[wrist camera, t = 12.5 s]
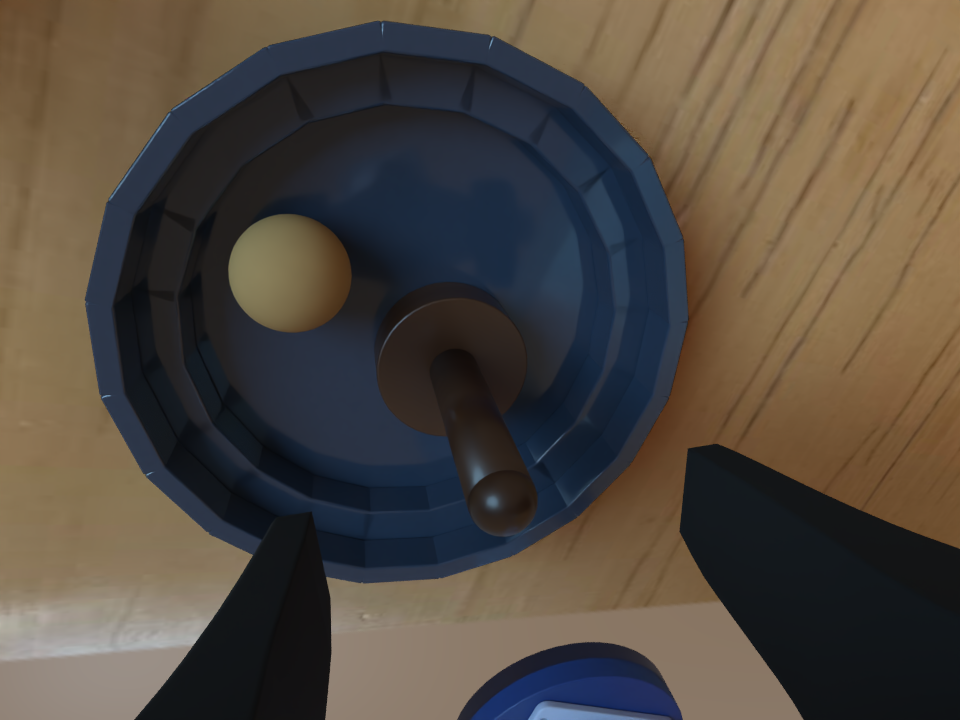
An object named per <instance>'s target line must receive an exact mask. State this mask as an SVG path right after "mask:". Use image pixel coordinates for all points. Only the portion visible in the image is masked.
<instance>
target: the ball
mask: <svg viewBox="0 0 960 720" xmlns="http://www.w3.org/2000/svg"><path fill="white" fill-rule="evenodd" d="M228 270H229V282H230V286H231V290H232V292H233V295H234V297H235V299H236V300H237V302H238V304H239V305H240V307H241V308H242V309H243V310H244V311H245V312H246V313H247V314H248V315H249V316H250V317H251V318H252V319H253V320H255V321H256V322H258V323H259V324H261V325H263V326H265V327H268V328H270V329H273V330H276V331H281V332H289V333H297V332H304V331H309V330H312V329H315V328H317V327H319V326H321V325H323V324H325V323H326V322H328V321H329V320H331V319H332V318H333V317H334V316H335V315H336V314H337V313H338V312H339V310H340V309H341V308H342V306H343V305H344V303H345V301H346V299H347V297H348V294H349V291H350V286H351V278H352V274H351V265H350V260H349V257H348V254H347V252H346V250H345V248H344V246H343V244H342V243H341V241H340V240H339V239H338V237H337V236H336V235H335V234H334V233H333V232H332V231H331V230H330V229H328V228H327V227H326V226H324V225H323V224H321V223H320V222H318V221H316V220H314V219H311V218H309V217H305V216H301V215H297V214H278V215H274V216H270V217H267V218H264V219H261V220H260V221H258V222H256V223H255V224H253V225H251V226H250V227H249V228H248V229H247V230H246V231H245V232H243V234H242V235H241V236H240V237H239V239H238V240H237V242H236V244H235V245H234V247H233V250H232V252H231V256H230V260H229V268H228Z"/></svg>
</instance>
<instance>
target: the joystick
mask: <svg viewBox="0 0 960 720" xmlns="http://www.w3.org/2000/svg"><path fill="white" fill-rule="evenodd" d="M374 356H375V366H376V376H377V383H378V388H379V391H380V394H381V396H382V398H383V401H384V402H385V404H386V406H387V407H388V409H389V410H390V411H391V412H392V413H393V414H394V416H395V417H397V418H398V419H399V420H400V421H401V422H403V423H404V424H406V425H407V426H409V427H410V428H413V429H415V430H417V431H419V432H422V433H425V434H429V435H434V436H444V437H448V441H449V444H450V448H451V451H452V455H453V458H454V462H455V465H456V469H457V473H458V476H459V480H460V483H461V487H462V490H463V494H464V497H465V501H466V504H467V508H468V511H469V514H470V516H471V518H472V520H473V521H474V523H475V524H476V525H477V526H478V527H479V528H480V529H481V530H483V531H484V532H486V533H488V534H490V535H493V536H498V537H507V536H512V535H515V534H517V533H519V532H521V531H522V530H524V529H525V528H526V527H527V526H528V525H529V524H530V523H531V521H532V520H533V518H534V516H535V513H536V510H537V503H538V496H537V492H536V488H535V485H534V483H533V481H532V479H531V477H530V475H529V472H528V470H527V468H526V466H525V464H524V462H523V460H522V458H521V455H520V453H519V451H518V449H517V447H516V445H515V443H514V441H513V438H512V436H511V434H510V432H509V430H508V428H507V426H506V423H505V421H504V419H503V417H502V415H503V414H504V413H505V412H506V411H507V410H508V409H509V408H510V407H511V406H512V404H513V403H514V402H515V400H516V399H517V397H518V395H519V393H520V392H521V389H522V387H523V384H524V381H525V377H526V373H527V352H526V346H525V343H524V340H523V337H522V335H521V333H520V331H519V330H518V328H517V327H516V325H515V324H514V322H513V321H512V320H511V318H510V317H509V315H508V314H507V312H506V311H505V310H504V308H503V307H502V306H501V305H500V303H499V302H498V301H497V300H496V299H494V298H493V297H492V296H491V295H490V294H488V293H486V292H485V291H483V290H481V289H479V288H477V287H474V286H471V285H468V284H464V283H457V282H441V283H434V284H430V285H426V286H423V287H421V288H418V289H416V290H414V291H412V292H410V293H408V294H407V295H406V296H404V297H403V298H401V299H400V300H399V301H398V302H397V303H396V304H395V305H394V306H393V307H392V308H391V309H390V310H389V311H388V313H387V314H386V316H385V317H384V319H383V320H382V322H381V325H380V327H379V329H378V332H377V336H376V340H375V347H374Z"/></svg>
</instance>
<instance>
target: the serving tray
mask: <svg viewBox="0 0 960 720" xmlns="http://www.w3.org/2000/svg"><path fill="white" fill-rule="evenodd" d="M278 214H297V215H301V216H305V217H309V218H311V219H314V220H316V221H318V222H320V223H321V224H323V225H324V226H326V227H327V228H328V229H330V230H331V231H332V232H333V233H334V234H335V235H336V236H337V237H338V239H339V240H340V241H341V243H342V244H343V246H344V248H345V250H346V252H347V254H348V257H349V260H350V265H351V274H352V278H351V286H350V291H349V294H348V297H347V299H346V301H345V303H344V305H343V306H342V308H341V309H340V310H339V312H338V313H337V314H336V315H335V316H334V317H333V318H332V319H331V320H329V321H328V322H326V323H325V324H323V325H321V326H319V327H317V328H315V329H312V330H309V331H304V332H297V333H289V332H281V331H276V330H273V329H270V328H268V327H265V326H263V325H261V324H259V323H258V322H256V321H255V320H253V319H252V318H251V317H250V316H249V315H248V314H247V313H246V312H245V311H244V310H243V309H242V308H241V307H240V305H239V304H238V302H237V300H236V299H235V297H234V295H233V292H232V290H231V286H230V282H229V270H228V268H229V260H230V256H231V252H232V250H233V247H234V245H235V244H236V242H237V240H238V239H239V237H240V236H241V235H242V234H243V232H245V231H246V230H247V229H248V228H249V227H250V226H251V225H253V224H255V223H256V222H258V221H260V220H261V219H264V218H267V217H270V216H274V215H278ZM441 282H457V283H464V284H468V285H471V286H474V287H477V288H479V289H481V290H483V291H485V292H486V293H488V294H490V295H491V296H492V297H493V298H494V299H496V300H497V301H498V302H499V303H500V305H501V306H502V307H503V308H504V310H505V311H506V312H507V314H508V315H509V317H510V318H511V320H512V321H513V322H514V324H515V325H516V327H517V328H518V330H519V331H520V333H521V335H522V337H523V340H524V343H525V346H526V352H527V373H526V377H525V381H524V384H523V387H522V389H521V392H520V393H519V395H518V397H517V399H516V400H515V402H514V403H513V404H512V406H511V407H510V408H509V409H508V410H507V411H506V412H505V413H504V414H503V415H502V417H503V419H504V421H505V423H506V426H507V428H508V430H509V432H510V434H511V436H512V438H513V441H514V443H515V445H516V447H517V449H518V451H519V453H520V455H521V458H522V460H523V462H524V464H525V466H526V468H527V470H528V472H529V475H530V477H531V479H532V481H533V483H534V485H535V488H536V492H537V496H538V503H537V510H536V513H535V516H534V518H533V520H532V521H531V523H530V524H529V525H528V526H527V527H526V528H525V529H524V530H522V531H521V532H519V533H517V534H515V535H512V536H507V537H498V536H493V535H490V534H488V533H486V532H484V531H483V530H481V529H480V528H479V527H478V526H477V525H476V524H475V523H474V521H473V520H472V518H471V516H470V514H469V511H468V508H467V504H466V501H465V497H464V494H463V490H462V487H461V483H460V480H459V476H458V473H457V469H456V465H455V462H454V458H453V455H452V451H451V448H450V444H449V441H448V437H444V436H434V435H429V434H425V433H422V432H419V431H417V430H415V429H413V428H410V427H409V426H407V425H406V424H404V423H403V422H401V421H400V420H399V419H398V418H397V417H395V416H394V414H393V413H392V412H391V411H390V410H389V409H388V407H387V406H386V404H385V402H384V401H383V398H382V396H381V394H380V391H379V388H378V383H377V376H376V366H375V356H374V347H375V340H376V336H377V332H378V329H379V327H380V325H381V322H382V320H383V319H384V317H385V316H386V314H387V313H388V311H389V310H390V309H391V308H392V307H393V306H394V305H395V304H396V303H397V302H398V301H399V300H400V299H401V298H403V297H404V296H406V295H407V294H408V293H410V292H412V291H414V290H416V289H418V288H421V287H423V286H426V285H430V284H434V283H441ZM85 301H86V303H85V305H86V312H87V318H88V324H89V331H90V337H91V343H92V350H93V356H94V362H95V369H96V375H97V381H98V387H99V394H100V395H101V399H102V401H103V403H104V405H105V406H106V408H107V410H108V412H109V413H110V415H111V417H112V419H113V421H114V422H115V424H116V426H117V428H118V429H119V431H120V433H121V435H122V437H123V438H124V440H125V442H126V444H127V445H128V447H129V449H130V451H131V453H132V454H133V456H134V458H135V460H136V461H137V463H138V465H139V467H140V469H141V470H142V472H143V474H145V476H146V477H147V478H148V479H149V480H150V481H151V482H152V483H153V484H154V485H156V486H157V487H158V488H159V489H160V490H161V491H162V492H163V493H164V494H166V495H167V496H168V497H169V498H170V499H171V500H172V501H173V502H174V503H175V504H177V505H178V506H179V507H180V508H181V509H182V510H183V511H184V512H185V513H187V514H188V515H189V516H190V517H191V518H192V519H193V520H194V521H195V522H196V523H198V524H199V525H200V526H201V527H202V528H203V529H204V530H205V531H206V532H209V534H210V535H212V536H214V537H217V538H219V539H221V540H223V541H225V542H227V543H229V544H231V545H233V546H235V547H237V548H240V549H242V550H244V551H246V552H248V553H250V554H252V555H254V553H255V551H256V550H257V548H258V546H259V544H260V543H261V541H262V539H263V537H264V536H265V534H266V532H267V530H268V529H269V527H270V525H271V523H272V522H273V521H274V520H275V519H276V517H281V516H287V515H293V514H299V513H305V512H311V511H312V515H313V519H314V524H315V529H316V533H317V538H318V543H319V547H320V552H321V557H322V561H323V566H324V571H325V575H326V577H330V578H335V579H340V580H346V581H351V582H357V583H362V582H363V583H378V582H394V581H410V580H425V579H438V578H439V577H440V578H444V577H447V576H450V575H453V574H457V573H460V572H463V571H466V570H469V569H473V568H476V567H479V566H482V565H486V564H489V563H492V562H495V561H498V560H502V559H505V558H508V557H511V556H512V555H515V554H517V553H519V552H520V551H522V550H524V549H525V548H527V547H529V546H530V545H532V544H534V543H536V542H537V541H539V540H541V539H542V538H544V537H546V536H547V535H549V534H551V533H552V532H554V531H556V530H557V529H559V528H561V527H562V526H564V525H566V524H567V523H569V522H571V521H572V520H574V519H576V518H577V516H579V515H580V514H581V513H582V512H583V511H584V510H585V509H586V508H587V507H588V506H589V505H590V504H591V503H592V502H593V501H594V500H595V499H596V498H597V497H598V496H599V495H600V494H602V493H603V492H604V491H605V490H606V489H607V488H608V487H609V486H610V485H611V484H612V483H613V482H614V481H615V480H616V479H617V478H618V477H619V476H620V475H621V474H622V473H623V472H624V471H625V470H626V469H627V468H628V467H629V466H630V463H632V462H633V460H634V458H635V456H636V455H637V453H638V451H639V450H640V448H641V446H642V444H643V443H644V441H645V439H646V437H647V436H648V434H649V432H650V431H651V429H652V427H653V425H654V424H655V422H656V420H657V418H658V417H659V415H660V413H661V412H662V410H663V408H664V406H665V405H666V403H667V401H668V399H669V396H670V393H671V389H672V385H673V381H674V377H675V373H676V369H677V365H678V361H679V357H680V353H681V349H682V345H683V341H684V337H685V333H686V329H687V325H688V320H689V316H688V300H687V284H686V268H685V251H684V240H683V236H682V233H681V231H680V228H679V226H678V224H677V221H676V219H675V216H674V214H673V211H672V209H671V207H670V204H669V202H668V199H667V197H666V194H665V192H664V189H663V187H662V185H661V182H660V180H659V177H658V175H657V172H656V170H655V168H654V165H653V163H652V160H651V158H650V157H649V156H648V154H647V153H646V152H645V150H644V149H643V148H642V147H641V146H640V145H639V144H638V143H637V142H636V140H635V139H634V138H633V137H632V136H631V135H630V134H629V133H628V132H627V130H626V129H625V128H624V127H623V126H622V125H621V124H620V123H619V122H618V120H617V119H616V118H615V117H614V116H613V115H612V114H611V113H610V112H609V110H608V109H607V108H606V107H605V106H604V105H603V104H602V103H601V102H600V100H599V99H598V98H597V97H596V96H595V95H594V94H593V93H592V92H591V90H590V89H589V88H588V87H586V86H585V85H584V84H583V83H582V82H580V81H578V80H576V79H574V78H572V77H570V76H568V75H567V74H565V73H563V72H561V71H559V70H557V69H555V68H553V67H551V66H550V65H548V64H546V63H544V62H542V61H540V60H538V59H536V58H534V57H533V56H531V55H529V54H527V53H525V52H523V51H521V50H519V49H517V48H516V47H514V46H512V45H510V44H508V43H506V42H504V41H502V40H501V39H499V38H497V37H495V36H492V37H491V36H490V35H487V34H479V33H472V32H465V31H457V30H450V29H442V28H435V27H428V26H420V25H413V24H405V23H398V22H391V21H381V22H380V21H374V22H370V23H365V24H361V25H356V26H352V27H347V28H343V29H339V30H334V31H330V32H325V33H321V34H316V35H312V36H308V37H303V38H299V39H294V40H290V41H285V42H281V43H277V44H272V45H269V46H268V47H264V48H262V49H261V50H259V51H258V52H256V53H255V54H253V55H252V56H250V57H249V58H247V59H246V60H244V61H243V62H241V63H240V64H238V65H237V66H235V67H234V68H232V69H231V70H229V71H228V72H226V73H225V74H223V75H222V76H220V77H219V78H217V79H216V80H214V81H213V82H211V83H210V84H208V85H207V86H205V87H204V88H202V89H201V90H199V91H198V92H196V93H195V94H193V95H192V96H190V97H189V98H187V99H186V100H184V101H183V102H181V103H180V104H178V105H177V106H175V107H174V108H172V109H171V111H170V112H168V114H167V115H166V116H165V118H164V119H163V121H162V122H161V124H160V125H159V127H158V128H157V129H156V131H155V132H154V134H153V135H152V137H151V138H150V140H149V141H148V142H147V144H146V145H145V147H144V148H143V150H142V151H141V153H140V154H139V155H138V157H137V158H136V160H135V161H134V163H133V164H132V165H131V167H130V168H129V170H128V171H127V173H126V174H125V176H124V177H123V178H122V180H121V181H120V183H119V184H118V186H117V187H116V189H115V190H114V191H113V193H112V194H111V196H110V197H109V200H108V202H107V203H106V207H105V212H104V216H103V221H102V225H101V230H100V234H99V239H98V243H97V247H96V252H95V256H94V261H93V265H92V270H91V274H90V279H89V283H88V287H87V292H86V296H85Z"/></svg>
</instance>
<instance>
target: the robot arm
mask: <svg viewBox="0 0 960 720" xmlns="http://www.w3.org/2000/svg"><path fill="white" fill-rule="evenodd" d="M680 533H681V535H682V537H683V539H684V541H685V543H686V545H687V547H688V549H689V551H690V553H691V555H692V556H693V558H694V560H695V562H696V564H697V565H698V567H699V569H700V571H701V572H702V574H703V576H704V578H705V579H706V581H707V582H708V583H709V585H710V586H711V588H712V589H713V591H714V592H715V593H716V595H717V596H718V598H719V599H720V600H721V602H722V603H723V605H724V606H725V607H726V609H727V610H728V611H729V613H730V614H731V616H732V617H733V618H734V620H735V621H736V623H737V624H738V625H739V627H740V628H741V629H742V631H743V632H744V634H745V635H746V636H747V637H748V639H749V640H750V642H751V643H752V644H753V646H754V647H755V649H756V650H757V651H758V653H759V654H760V655H761V657H762V658H763V660H764V661H765V662H766V663H767V665H768V666H769V668H770V669H771V671H772V672H773V673H774V675H775V676H776V677H777V679H778V680H779V682H780V683H781V685H782V686H783V688H784V689H785V691H786V692H787V694H788V695H789V697H790V698H791V700H792V701H793V703H794V704H795V706H796V708H797V709H798V711H799V712H800V714H801V716H802V718H803V719H804V720H960V549H959V548H956V547H953V546H950V545H947V544H945V543H942V542H939V541H936V540H934V539H931V538H928V537H925V536H922V535H920V534H917V533H914V532H912V531H909V530H906V529H904V528H901V527H899V526H896V525H894V524H891V523H889V522H887V521H884V520H882V519H880V518H877V517H875V516H872V515H870V514H868V513H865V512H863V511H861V510H858V509H856V508H854V507H851V506H849V505H847V504H845V503H843V502H840V501H838V500H836V499H834V498H832V497H829V496H827V495H825V494H823V493H821V492H819V491H817V490H815V489H812V488H810V487H808V486H806V485H804V484H802V483H800V482H798V481H796V480H794V479H792V478H790V477H787V476H785V475H783V474H781V473H779V472H777V471H775V470H773V469H771V468H769V467H767V466H765V465H763V464H761V463H759V462H757V461H755V460H752V459H750V458H748V457H746V456H744V455H742V454H740V453H738V452H735V451H733V450H731V449H729V448H726V447H724V446H721V445H719V444H712V445H706V446H700V447H694V448H688V453H687V463H686V473H685V483H684V493H683V503H682V513H681V523H680ZM330 662H331V605H330V594H329V589H328V584H327V580H326V575H325V571H324V566H323V561H322V557H321V552H320V547H319V543H318V538H317V533H316V529H315V524H314V519H313V515H312V511H311V512H305V513H299V514H293V515H287V516H281V517H276V519H275V520H274V521H273V522H272V523H271V525H270V527H269V529H268V530H267V532H266V534H265V536H264V537H263V539H262V541H261V543H260V544H259V546H258V548H257V550H256V551H255V553H254V555H253V557H252V558H251V560H250V562H249V563H248V565H247V566H246V568H245V570H244V571H243V573H242V575H241V576H240V578H239V579H238V581H237V583H236V584H235V586H234V587H233V589H232V590H231V592H230V593H229V595H228V596H227V598H226V600H225V601H224V603H223V604H222V606H221V607H220V609H219V610H218V612H217V613H216V615H215V616H214V618H213V619H212V621H211V622H210V623H209V625H208V626H207V627H206V629H205V630H204V632H203V633H202V634H201V636H200V637H199V639H198V640H197V641H196V643H195V644H194V645H193V647H192V648H191V650H190V651H189V652H188V654H187V655H186V657H185V658H184V659H183V661H182V662H181V663H180V664H179V666H178V667H177V668H176V670H175V671H174V672H173V673H172V675H171V676H170V677H169V679H168V680H167V681H166V682H165V684H164V685H163V686H162V687H161V689H160V690H159V691H158V692H157V694H156V695H155V696H154V697H153V698H152V699H151V701H150V702H149V703H148V704H147V705H146V706H145V708H144V709H143V710H142V711H141V712H140V714H139V715H138V716H137V717H136V719H134V720H325V716H326V706H327V695H328V684H329V673H330ZM528 720H671V718H670V717H667V716H661V715H653V714H646V713H638V712H631V711H623V710H615V709H608V708H600V707H593V706H585V705H578V704H570V703H563V702H555V701H543V702H541V703H539V704H538V705H537V706H536V708H535V709H534V711H533V712H532V714H531V716H530V717H529V719H528Z"/></svg>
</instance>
